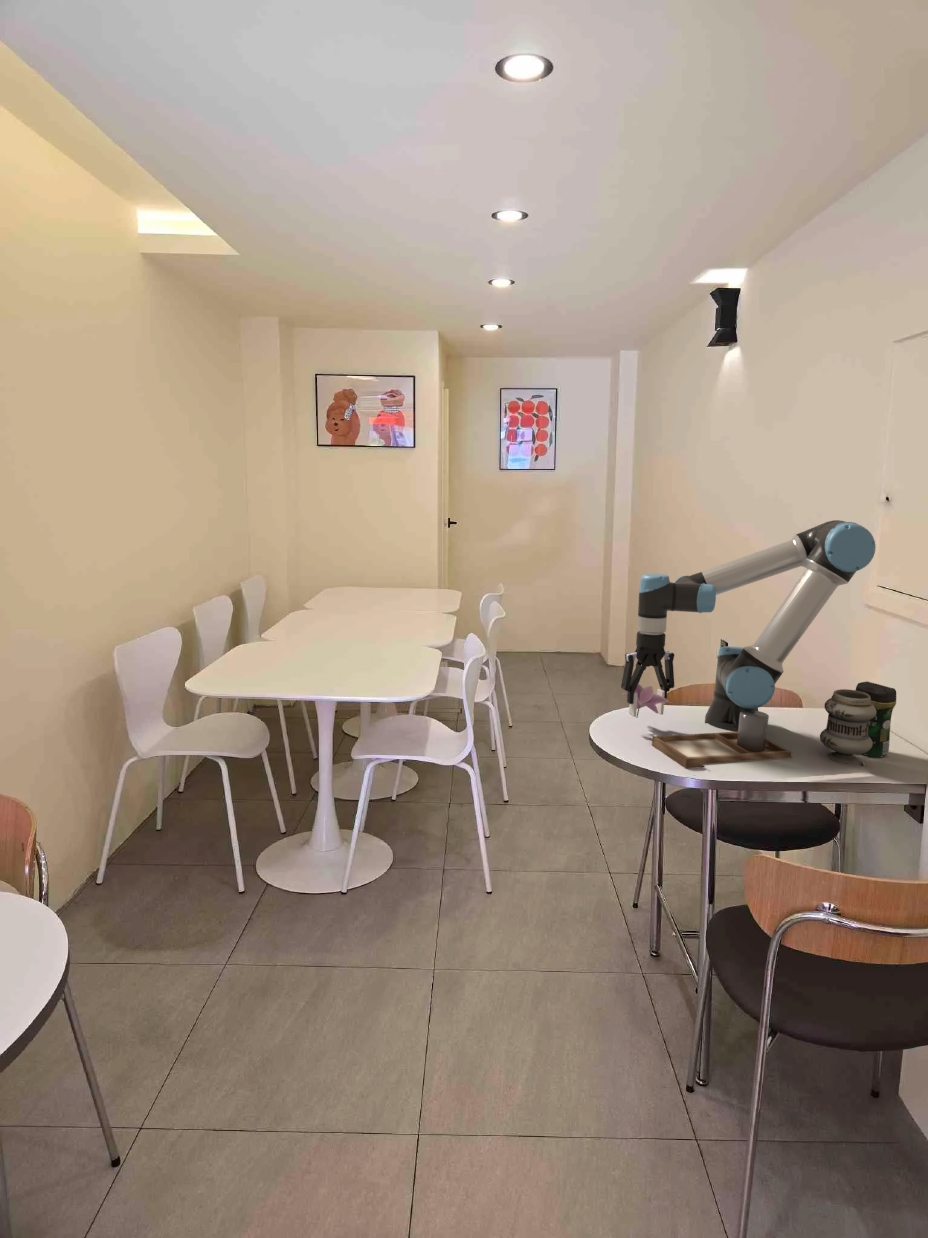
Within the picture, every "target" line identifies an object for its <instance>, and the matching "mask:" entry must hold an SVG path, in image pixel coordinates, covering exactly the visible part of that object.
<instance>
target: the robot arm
mask: <svg viewBox="0 0 928 1238" xmlns="http://www.w3.org/2000/svg"><path fill="white" fill-rule="evenodd" d="M876 548H877V547H876V541H875V539H874V536H873V535H872V533H871V532H870V531H869V530H868V529H867V528H866V527H864V526H863V525H861V524H858V523H856V522H853V521H844V520H837V519H835V520H829V521H825V522H823V523H820V524H819V525H816V526H814V527H811V528H809V529H806V530H804V531H800V532H799V533H796V534H794V535H793V536H792V538H791V539H789V540H787V541H785V542H781V543H779V544H776V545H773V546H771V547H768V548H764V549H762V550H758V551H755V552H753V553H751V554H748V555H745V556H742V557H739V558H736V559H734V560H731V561H727V562H726V563H721V564H719V565H717V566H713V567H711V568H708V569H705V570H702V571H700V572H697V573H694V574H691V575H682V576H680V577H678V578H677V579H676V580H674V582H671V581H670V577H669V575H667V574H662V573H661V574H660V573H644V574H643V575H641V577H640V583H639V590H638V612H637V623H636V624H637V627H636V629H637V633H636V644H635V645H636V648H635V651H634V652H632V653H628V652H626V653H625V654H624V657H625V658H624V659H625V665H624V670H623V674H622V680H621V685H620V688H621V689H622V690H624V692H625V691H626V692H628V693H627V696H626V698H627V700H626V702H627V704H629V706H628V709H629V710H628V714H629V715H631V716H632V717H635V718H636V717H637V712H638V709H637V694H638V693H636V692H635V690H636V688H637V686H638V684H640V680H641V678H642V676H643V674H644V671H646V669H647V667H648V668H649V667H653V669H654V672H655V675H656V679H657V681H658V684H659V687H660V688H657V689H656V694H657V695H659V696H662V697H664V698H665V699H667V700H668V692H670V689H674V688H675V675H674V674H675V672H674V658H675V653H674V652H672V651H670V650H668V651H665V646H666V637H667V636H666V633H665V632H667V617H668V612H669V611H671V612H685V613H686V612H687V613H688V612H689V613H698V614H702V613H712V612H714V610H715V607H716V601H717V595H720V594H724V593H726V592H728V591H733V590H735V589H739V588H741V587H744V586H746V585H750V584H753V583H756V582H759V581H761V580H764V579H767V578H770V577H773V576H776V575H779V574H781V573H784V572H788V571H790V570H793V569H797V568H799V567H802V568H806V569H805V571H804V572H803V574H802V575H801V576H800V578H799V579H798V581H797V582H796V583H795V585H794V586H793V587H792V589H791V591H790V592H789V593H788V595H787V596H786V597H785V599H784V601H782V603H781V605H780V606H779V607H778V609H777V610H776V612H775V613H774V614H773V616H772V617H771V619H770V620H769V622H768V623H767V624H766V626H765V627H764V629H763V630H762V632H761V633H760V634H759V636H758V637H757V639H756V640H755V641H754V643H753V644H751V645H747V646H743V647H742V646H731V645H729V646H727V645H726V646H721V647H720V648H719V649H718V654H717V656H716V659H717V663H716V674H715V683H714V692H713V698H712V700H711V702H710V705H709V707H708V710H707V712H706V713H705V716H704V724H707V725H710V726H711V727H714V728H717V729H721V730H725V731H728V732H738V726H739V717H740V711H743V710H755V711H759V708H762V707H763V706H765V705H767V703H769V702H770V701H771V700H772V698H773V696H774V694H775V690H776V684H777V682H778V680H779V679H780V677H781V676H782V675H783V674H784V666H783V663H784V661H785V660H786V659H787V658H788V656H789V655H790V653H791V652H792V651H793V649H794V648H795V646H796V645H797V643H798V642H799V641H800V639H801V638H802V637H803V635H805V633H806V631H807V630H808V628H809V627H810V625H811V624H812V622H813V621H814V620H815V619H816V617H817V616H818V614H819V613H820V612H821V610H822V609H823V607H824V606H825V605H826V604H827V602H828V600H829V599H830V598H831V597H832V595H833V594H834V593H835V591H836V589H837V588H838V587H839V586H843V585H847V584H849V582H850V581H851V579H852V578H853V577H854V576H855V574H856V573H857V572H858V571H860V570H862V569H865V568H866V567H867V566H868V565H869V564H870V563H871V562H872V560H873V559H874V556H875V554H876ZM636 659H637V661H636ZM663 659H664V670H663V665H662V660H663ZM635 661H636V664H635ZM634 664H635V665H634ZM634 666H635V667H634ZM634 668H635V669H634ZM633 670H634V671H633ZM655 705H656V707H657V710H658V714H659V715H661V716H662V715H664V707H665V703H658V704H655Z"/></svg>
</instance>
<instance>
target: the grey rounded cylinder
mask: <svg viewBox="0 0 928 1238" xmlns="http://www.w3.org/2000/svg"><path fill="white" fill-rule="evenodd" d="M768 725H769V714H768V713H765V712H764V711H759V710H758V711H755V710H743V711H740V717H739V726H738V735H737V745H738V746H740V747H742V748H744V749H745V750H747V751H750V752H762V751H764V750H765V744H766V739H767V735H768V734H767V733H768Z"/></svg>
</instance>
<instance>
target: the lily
mask: <svg viewBox="0 0 928 1238" xmlns="http://www.w3.org/2000/svg"><path fill="white" fill-rule="evenodd" d="M635 692H636V693H638V694H637V711H636V716H635V718H636V719H638V716H639V712H640V709H642V708H645V707H647V708H649V710H651V711H652V712H654V713H655V714H657V715H658V714H659V713H658V710H657V707H656V704H658V703H664V704H665V703H669V702H670V700H668V698H667V699H665V698H664V697H662V696H659V695H657V693H654V688H653V686H646V687H643V686H642V685H641V684H640V683H638V686H637V688H636V690H635ZM627 693H628V692H627V691H626V692H625V691H624V692H622V695H623V696H625V697H627Z"/></svg>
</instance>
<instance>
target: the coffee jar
mask: <svg viewBox="0 0 928 1238" xmlns="http://www.w3.org/2000/svg"><path fill="white" fill-rule="evenodd" d="M855 690H856V691H860V692H864V693H867V694H868V695H870V697H871V704H872V705H873V706H874V707H875V709H876V715H875V717H874V718H872V719H870V722H869V730H868V736H869V737H870V738H871V740H872V748H871V749H870V750H869V751H868V752H866V753H863V754H862V755H864V754H865V756H867V757H871V756H872V758H882V757H881V756H883V757H885V756H887V755H889V752H890V735H891V723H892V722H891V721H892V716H893V711H894V709H895V707H896V705H897V690H896V689H895V688H893V687H890V686H886V685H882V684H879V683H874V682H871V681H867V680H866V681H862V682H859V683H857V685H856V686H855Z"/></svg>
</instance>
